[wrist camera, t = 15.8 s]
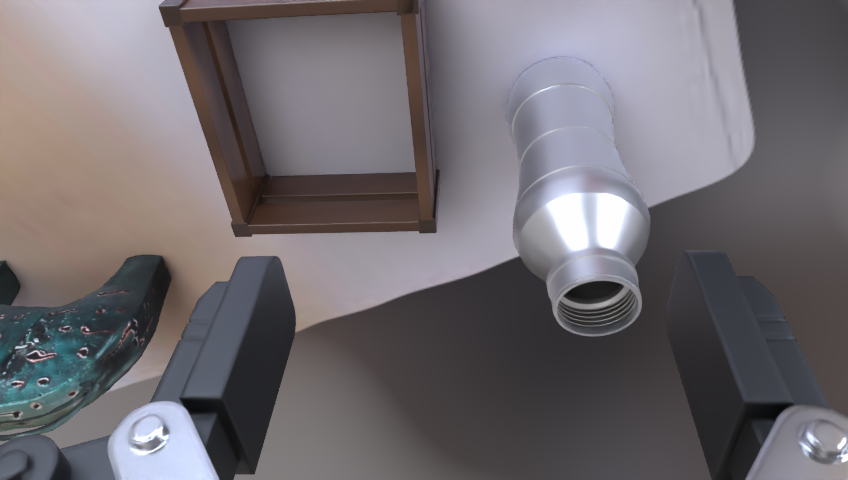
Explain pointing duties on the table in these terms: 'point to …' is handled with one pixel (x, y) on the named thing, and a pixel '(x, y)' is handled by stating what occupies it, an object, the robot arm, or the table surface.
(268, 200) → the crate
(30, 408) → the ceramic cat
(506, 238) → the table surface
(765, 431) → the robot arm
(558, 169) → the metal water bottle
